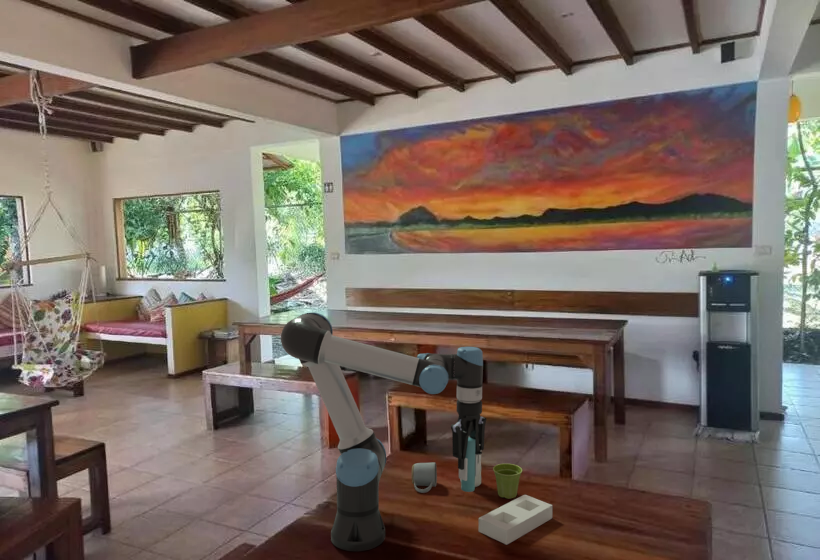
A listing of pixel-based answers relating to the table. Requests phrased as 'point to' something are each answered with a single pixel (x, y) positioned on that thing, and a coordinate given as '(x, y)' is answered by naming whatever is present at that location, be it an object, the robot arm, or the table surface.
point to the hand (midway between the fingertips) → (468, 476)
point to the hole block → (515, 519)
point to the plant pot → (507, 479)
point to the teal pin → (470, 467)
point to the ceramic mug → (424, 476)
